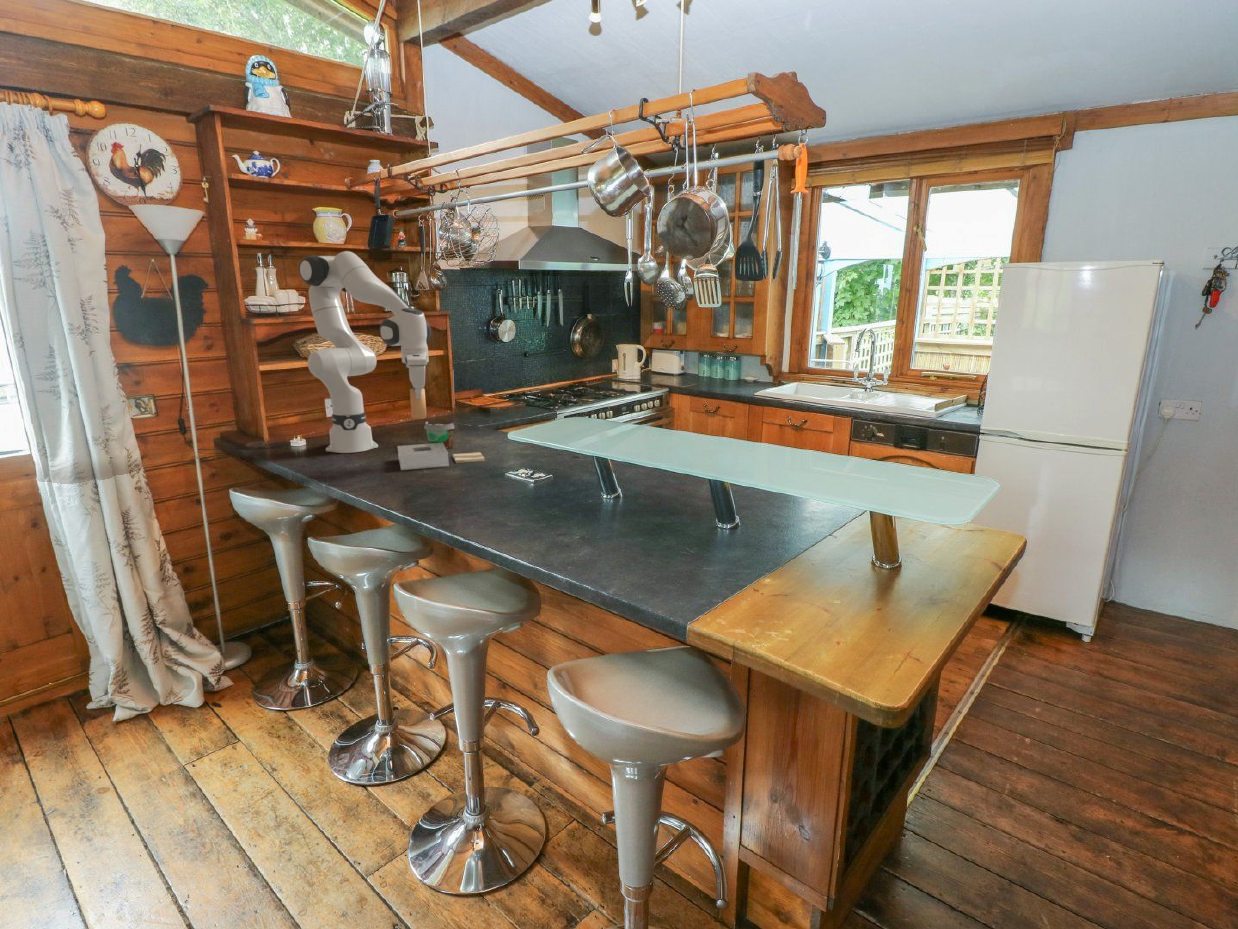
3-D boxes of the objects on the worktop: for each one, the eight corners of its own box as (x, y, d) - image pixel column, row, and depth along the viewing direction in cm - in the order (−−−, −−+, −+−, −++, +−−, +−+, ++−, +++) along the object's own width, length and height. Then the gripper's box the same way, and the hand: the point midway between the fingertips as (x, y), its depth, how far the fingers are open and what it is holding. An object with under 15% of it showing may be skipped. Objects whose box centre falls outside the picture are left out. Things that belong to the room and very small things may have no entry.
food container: (419, 449, 257) (417, 424, 255) (428, 446, 263) (426, 421, 260) (447, 451, 254) (445, 426, 251) (456, 448, 260) (454, 423, 257)
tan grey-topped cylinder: (411, 416, 235) (409, 386, 232) (425, 415, 237) (423, 385, 234) (412, 419, 231) (410, 388, 228) (427, 418, 232) (425, 387, 230)
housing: (398, 459, 243) (397, 446, 241) (443, 455, 248) (442, 442, 247) (401, 470, 228) (399, 456, 227) (448, 466, 233) (447, 452, 232)
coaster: (453, 456, 246) (452, 454, 246) (480, 454, 250) (480, 451, 249) (456, 463, 237) (456, 460, 237) (484, 460, 240) (484, 458, 240)
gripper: (403, 354, 237) (406, 392, 240) (407, 360, 218) (410, 402, 222) (422, 353, 239) (424, 392, 242) (427, 360, 220) (429, 401, 224)
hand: (417, 397), depth 232 cm, fingers closed on tan grey-topped cylinder, 5 cm apart
